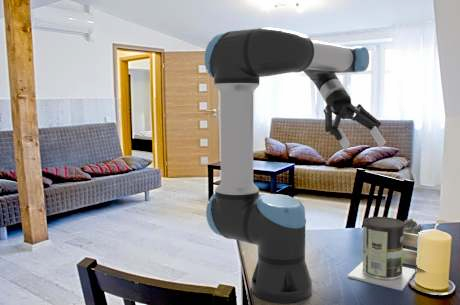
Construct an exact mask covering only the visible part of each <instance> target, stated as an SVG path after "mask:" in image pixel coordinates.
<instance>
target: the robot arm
mask: <svg viewBox="0 0 460 305" xmlns="http://www.w3.org/2000/svg"><path fill="white" fill-rule="evenodd" d="M369 53H370V52H369V50H368V48H367V47H365V46H343V45H339V44H335V43H334V44H333V43H328V42H324V41H320V40H314V39H311V38H310V37H309V36H308V35H306V34H304V33H300V32H297V31H292V30H287V29H282V28H277V27H268V26H267V27H258V28H249V29H241V30H233V31H232V30H231V31H230V30H229V31H226V32H223V33H219V34H216V35H215V36H214V37H212V39H211V40H210V41H209V42H208V44H207V45H206V48H205V52H204V66H205V69H206V70H207V73H208V75H209V76H210V77H211V78H212V79H214V80H213V83H214V87H215V88H216V89H217V90H218V91H219V94H220V96H219V97H220V98H219V102H220V103H219V104H220V105H219V106H220V112H219V113H220V115H219V116H220V183H219V184H218V186H217V187H215V189H214V192H215V193H214V194H212V195H211V197H210V198H209V200H208V202H209V203H207V205H206V209H205V210H206V212H205V216H206V222H207V224H208V226H209V228H210V229H211V231H212V232H213V233H214V234H216V235H218V236H221V237H224V238H225V239H230V240H235V241H239V242H242V243H243V242H245V243H248V244H251V245H252V244H253V245H255V246H257V262H256V265H255V267H254V271H253V274H252V277H251V282H250V284H251V291H252V293H253V295H255V296H256V297H257V298H259V299H261V300H263V301H264V300H265V301H267V302H271V303H279V304H288V303H289V304H290V303H297V302H300V301H303V300H305V299H307V298H308V297H310V296H311V295H312V292H313V282H312V278H311V275H310V271H309V268H308V266H307V262H306V223H307V219H306V210H305V206H304V204H303V203H302V201H301V200H299V199H297V198H294V197H292V196H289V195H285V194H281V193H279V194H276V193H266V194H262V195H260V189H259V187H258V186H257V185H256V184H255V183H254V92H255V91H256V90H257V88H259V86H260V78H262V77H272V76H276V75H283V74H288V73H289V74H290V73H302V72H303V73H305V75H307V77H308V78H309V79H310V80H311V81H312V82H313V84H314V85H315V86H316V88H317V90H318V91H319V94H320V96H321V97H322V98H323V100H324V102H325V104H326V106H325V107H324V109H323V113H324V118H325V119H324V124H325V125H324V131H325V132H327V133H329V134H330V136H334V138H335V139H336V141H338V143H339V144H340V146H341V147H342V149H343V151H347V150H348V148H349V147H350V146H351V143H350V141H349V139H348V138H347V136H346V134H345V133H344V131H343V129H342V127H339V126H340V123H341V120H350V121H353V122H355V121H356V122H357V123H359V124H360V125H362V126H363V127H365V128H366V129H368V130H370V132H369V133H370V135H371V136H372V138H373V140H374V141H375V143H376V145H378V148H379V149H381V148H383V146H384V145H385V144H386V143H387V141H386V139H385V137H384V136H383V133H382V132H381V130H380V129H379V127H380V126H381V125H382V122H381V121H379V119H377V118H376V117H374V116H373V115H372V114H371V113H369V112H368V111H367V110H366V109H365V107H364V106H363V105H362V104H359V103H358V104H357V105H356V106H355V105H353V104H352V99H351V97H350V94H349V93H348V91H347V90H346V88H345V87H344V85H343V83H342V82H341V80H340V79H339V78H338V76H337V74H340V73H341V74H342V73H343V74H345V73H346V74H347V73H358V72H359V73H361V72H365V71H367V69H368V68H369V64H370V54H369ZM333 114H334V115H335V117H334V121H333Z"/></svg>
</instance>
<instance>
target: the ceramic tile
mask: <svg viewBox="0 0 460 305" xmlns="http://www.w3.org/2000/svg"><path fill="white" fill-rule="evenodd" d="M362 269H363V261H361V262H360V263H359V264H358V265H357V266H356V267H355V268H354V269H353V270H351V272H349V273H348V274H347V278H348V279H353V280H357V281H361V282H365V283H368V284H373V285H377V286H381V287H385V288H389V289H393V290H397V291H401V292H403V290H405V288H406V287H407V285H408V284H409V283H410V281H411V280H410V279H412V278H413V277H414V276H413V275H415V274H416V273H415V269H416V268H411V267H406V266H403V265H402V277H400V278H399V279H395V280H380V279H375V278H372V277H369V276H367V275H366V274H364V273H363V271H362Z"/></svg>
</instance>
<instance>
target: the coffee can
mask: <svg viewBox="0 0 460 305" xmlns="http://www.w3.org/2000/svg"><path fill="white" fill-rule="evenodd" d="M362 221H363V222H362V224H363V232H362V233H363V234H362V235H363V237H362V238H363V240H362V243H363V244H362V245H363V246H362V262H363V269H362V271H363V273H364V274H366V275H367V276H369V277H372V278H375V279H380V280H395V279H399V278H400V277H402V266H403V263H402V259H403V249H404V245H403V230H404V221H403V220H400V219H397V218H393V217H389V216H388V217H387V216H370V217H366V218H364V219H363V220H362Z"/></svg>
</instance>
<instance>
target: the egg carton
mask: <svg viewBox="0 0 460 305" xmlns="http://www.w3.org/2000/svg"><path fill="white" fill-rule="evenodd" d="M403 222H404V230H403V232H405V233H411V234H417V235H419V234H418V232H420V231H422V230H424V229H425V228H426V227H425V226H423V225H421V224H418V222H416V221H414V220H413V218H408V219H405V220H404V221H403Z"/></svg>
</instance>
